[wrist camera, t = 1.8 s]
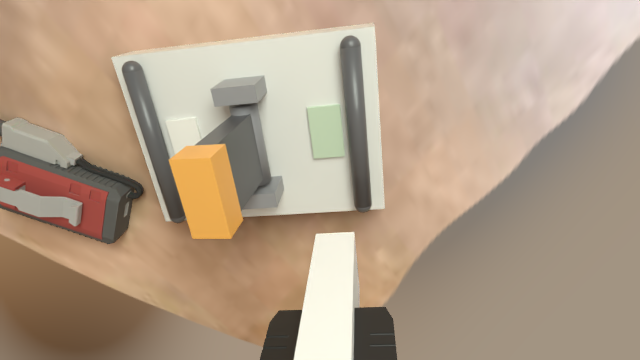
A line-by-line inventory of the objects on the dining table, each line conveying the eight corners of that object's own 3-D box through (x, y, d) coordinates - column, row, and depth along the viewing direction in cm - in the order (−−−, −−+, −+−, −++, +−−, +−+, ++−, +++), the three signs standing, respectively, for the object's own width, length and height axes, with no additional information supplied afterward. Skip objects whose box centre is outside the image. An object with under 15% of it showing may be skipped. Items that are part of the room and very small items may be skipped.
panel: (132, 51, 32) (86, 64, 26) (373, 22, 29) (376, 31, 24) (179, 204, 38) (149, 241, 32) (382, 191, 35) (387, 228, 30)
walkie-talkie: (153, 162, 36) (-69, 83, 35) (128, 183, 32) (-124, 95, 31) (140, 236, 40) (-61, 168, 39) (116, 263, 36) (-108, 188, 35)
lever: (232, 101, 29) (165, 151, 21) (263, 99, 29) (208, 148, 20) (248, 175, 32) (194, 245, 23) (277, 174, 31) (232, 245, 23)
